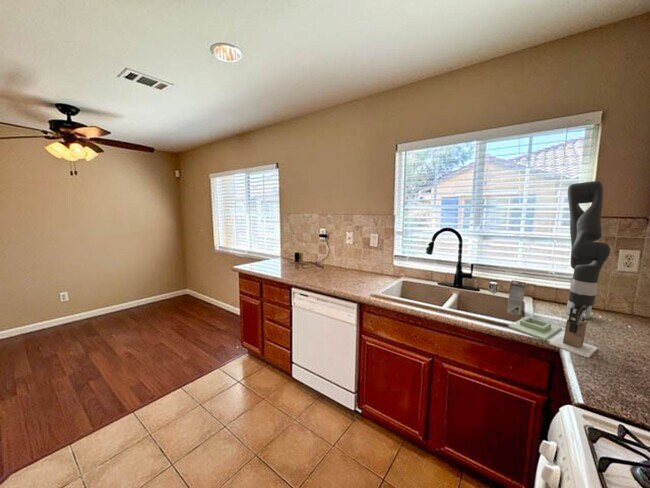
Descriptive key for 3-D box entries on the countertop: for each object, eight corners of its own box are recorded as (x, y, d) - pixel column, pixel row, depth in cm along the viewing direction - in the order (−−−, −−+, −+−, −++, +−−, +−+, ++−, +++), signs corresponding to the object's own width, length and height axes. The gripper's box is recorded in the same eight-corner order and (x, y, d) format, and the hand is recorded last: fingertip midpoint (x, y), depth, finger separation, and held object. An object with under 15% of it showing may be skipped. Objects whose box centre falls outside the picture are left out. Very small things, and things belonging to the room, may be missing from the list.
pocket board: (526, 317, 136) (527, 312, 135) (561, 329, 124) (562, 323, 123) (508, 327, 125) (509, 321, 124) (544, 340, 113) (545, 333, 113)
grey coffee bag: (507, 307, 149) (511, 279, 146) (522, 310, 145) (526, 282, 142) (506, 312, 142) (510, 283, 139) (521, 315, 138) (525, 286, 135)
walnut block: (567, 339, 112) (570, 317, 110) (582, 345, 108) (587, 322, 106) (562, 343, 109) (566, 320, 108) (579, 348, 105) (583, 325, 104)
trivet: (559, 336, 117) (559, 334, 117) (597, 349, 107) (597, 346, 107) (548, 343, 110) (549, 341, 110) (588, 358, 100) (588, 355, 100)
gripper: (575, 286, 112) (569, 322, 114) (564, 291, 104) (557, 330, 107) (600, 291, 106) (593, 329, 108) (590, 297, 98) (583, 338, 101)
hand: (576, 329), depth 108 cm, fingers open, 8 cm apart
